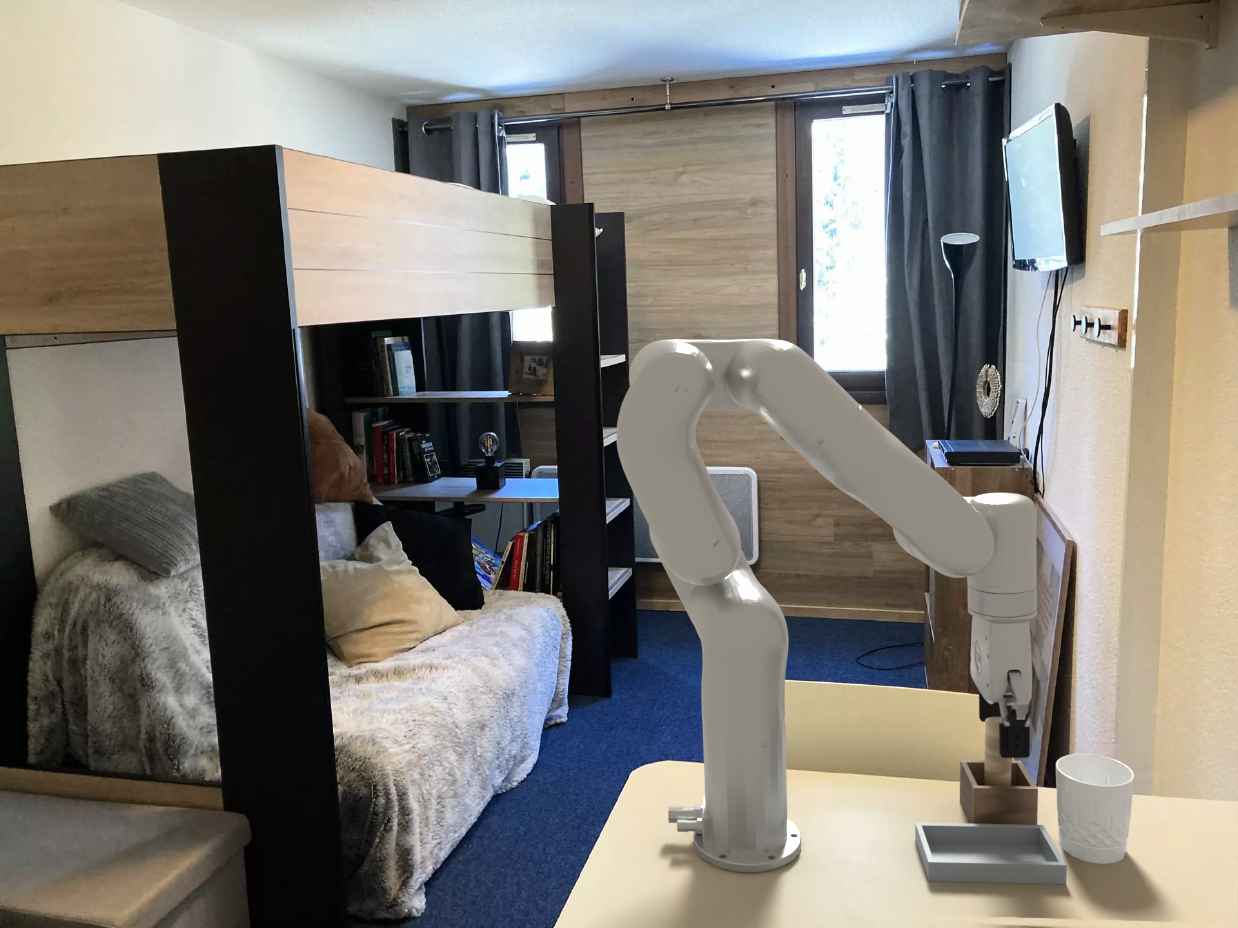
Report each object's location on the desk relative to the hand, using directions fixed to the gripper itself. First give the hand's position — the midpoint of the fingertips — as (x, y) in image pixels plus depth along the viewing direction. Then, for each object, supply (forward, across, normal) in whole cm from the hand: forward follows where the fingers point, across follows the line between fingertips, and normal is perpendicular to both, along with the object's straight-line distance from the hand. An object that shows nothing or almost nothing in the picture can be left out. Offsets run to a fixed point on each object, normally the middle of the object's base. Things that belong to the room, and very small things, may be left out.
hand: (1003, 737), depth 118 cm
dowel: (+10, 0, -1) cm, 10 cm away
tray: (+10, +10, -4) cm, 15 cm away
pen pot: (+10, 0, -1) cm, 11 cm away
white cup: (+11, +7, +8) cm, 15 cm away
